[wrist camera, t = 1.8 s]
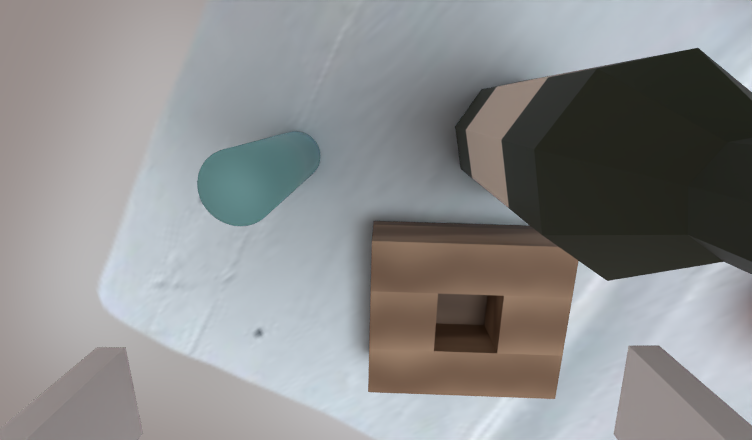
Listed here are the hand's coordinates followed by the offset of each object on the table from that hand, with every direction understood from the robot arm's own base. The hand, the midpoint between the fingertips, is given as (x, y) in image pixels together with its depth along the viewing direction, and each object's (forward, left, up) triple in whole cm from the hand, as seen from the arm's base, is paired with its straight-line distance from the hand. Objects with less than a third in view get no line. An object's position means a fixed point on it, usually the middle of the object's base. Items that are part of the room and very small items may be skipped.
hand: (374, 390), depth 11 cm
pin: (-4, -7, -22) cm, 23 cm away
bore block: (+7, +6, -22) cm, 24 cm away
